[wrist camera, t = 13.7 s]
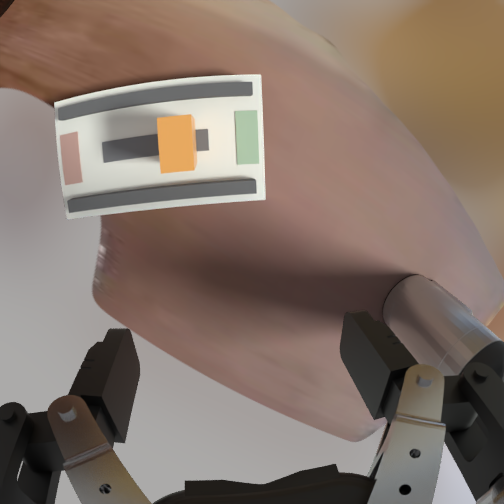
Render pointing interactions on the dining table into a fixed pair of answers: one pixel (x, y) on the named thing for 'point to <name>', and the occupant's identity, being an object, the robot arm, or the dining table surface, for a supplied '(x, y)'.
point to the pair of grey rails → (161, 191)
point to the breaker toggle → (177, 143)
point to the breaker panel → (147, 149)
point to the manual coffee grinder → (4, 6)
